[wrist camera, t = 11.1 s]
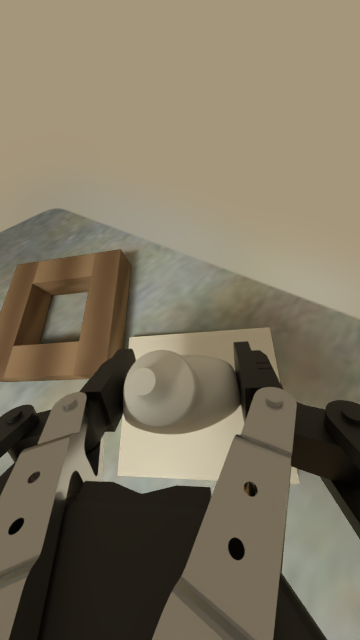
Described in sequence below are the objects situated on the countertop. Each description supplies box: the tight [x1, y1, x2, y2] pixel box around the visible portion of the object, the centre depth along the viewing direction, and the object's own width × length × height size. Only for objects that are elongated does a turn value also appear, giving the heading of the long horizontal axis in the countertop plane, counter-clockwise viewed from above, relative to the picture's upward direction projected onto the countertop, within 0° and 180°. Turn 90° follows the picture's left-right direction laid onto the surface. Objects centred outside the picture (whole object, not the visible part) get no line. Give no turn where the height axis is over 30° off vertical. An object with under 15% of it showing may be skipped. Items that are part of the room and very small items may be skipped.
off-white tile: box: [118, 327, 300, 484], centre depth 18 cm, size 14×12×1 cm
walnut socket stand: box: [0, 249, 131, 382], centre depth 23 cm, size 14×14×3 cm
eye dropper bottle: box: [123, 349, 241, 435], centre depth 11 cm, size 4×6×12 cm
